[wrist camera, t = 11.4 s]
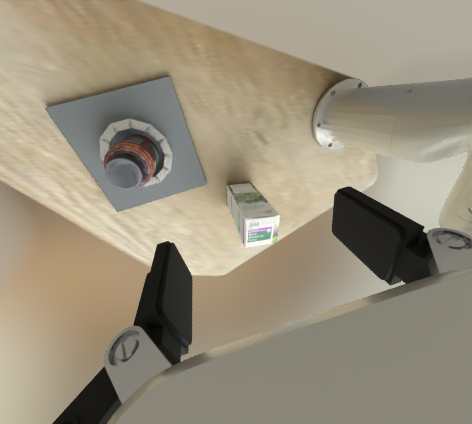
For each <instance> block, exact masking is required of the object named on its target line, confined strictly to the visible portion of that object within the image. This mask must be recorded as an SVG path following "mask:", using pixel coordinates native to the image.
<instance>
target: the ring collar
mask: <svg viewBox="0 0 472 424" xmlns="http://www.w3.org/2000/svg"><path fill="white" fill-rule="evenodd" d="M129 128H134V129H138V130H142V131H145V132H148V133H149V134H150V135H151V136H152V137H154V138H155V139H156V140H157V141H158V142H159V143H160V145H161V147H162V150H163V152H164V154H165V159H164V165H163V167H162V168H161V169H160V170H159V171H158V172H157V173H155V174H153V176H152V178H151V180H150V181H149V182H148V183H147V184H145V185H144V186H143V187H146V186H149V185H153V184H156V183H159V182H161V181H162V180H163V179H164V178H165V177H166V175H167V174H168V173H169V172H170V171H171V165H172V158H173V151H172V148H171V146H170V143H169V141H168V138H167V136H166V135H165V134H164V133H162V132H161V131H160V130H159V129H158V128H157V127H156V126H155V125H153V124H152V123H150V122H146V121H142V120H139V119H135V118H130V119H126V120H122V121H118V122H115V123H111V124H110V125H109V126H108V128H107V129H106V130H105V132H104V133H103V134H102V136H101V137H100V157H101V159H102V160H103V162H104V157H105V154H106V153H107V151H108V150H109V149H110V148H112V147H113V140H114V139H115V137H116V136H117V135H118V133H119V132H120V131H122V130H125V129H129Z"/></svg>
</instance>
